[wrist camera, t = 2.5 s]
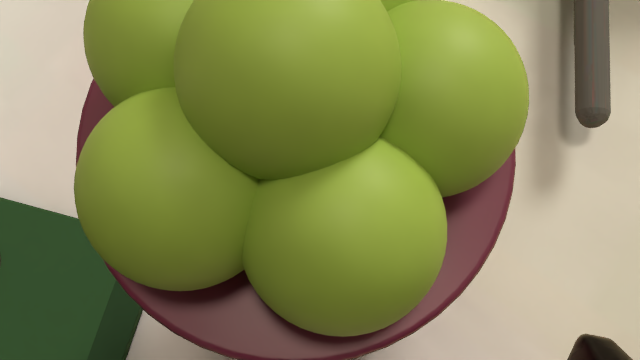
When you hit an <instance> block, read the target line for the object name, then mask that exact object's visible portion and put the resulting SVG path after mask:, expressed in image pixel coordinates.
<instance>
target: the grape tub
mask: <svg viewBox="0 0 640 360" xmlns="http://www.w3.org/2000/svg"><path fill="white" fill-rule="evenodd" d="M83 34H84V47H85V54H86V58H87V61H88V65H89V68H90V70H91V73H92V75H93V77H94V79H93V81H92V83H91V86H90V89H89V92H88V95H87V98H86V101H85V104H84V107H83V110H82V115H81V120H80V125H79V131H78V136H77V155H76V172H75V180H74V194H75V204H76V209H77V213H78V218H79V221H80V223H81V226H82V228H83V231H84V233H85V234H86V236H87V238H88V240H89V242H90V243H91V245H92V246H93V248H94V249H95V250H96V251H97V253H98V254H99V255H100V257H101V258H102V259H103V261H104V262H105V264H106V266H107V268H108V269H109V271H110V272H111V274H112V275H113V276H114V277H115V279H116V280H117V281H118V283H119V284H120V285H121V287H122V288H123V289H124V290H125V292H126V293H127V294H128V295H129V296H130V297H131V298H132V299H133V300H134V301H135V302H136V303H137V304H138V305H139V306H140V307H141V308H142V309H143V310H144V311H145V312H146V313H147V314H148V315H150V316H151V317H152V318H154V319H155V320H157V321H158V322H159V323H161V324H162V325H164V326H165V327H166V328H168V329H169V330H170V331H172V332H173V333H175V334H177V335H179V336H181V337H183V338H184V339H186V340H188V341H190V342H192V343H194V344H196V345H198V346H200V347H202V348H204V349H207V350H210V351H213V352H216V353H218V354H221V355H224V356H227V357H229V358H233V359H238V360H349V359H354V358H357V357H360V356H363V355H366V354H369V353H372V352H374V351H377V350H380V349H383V348H386V347H388V346H390V345H391V344H393V343H395V342H397V341H399V340H401V339H403V338H405V337H407V336H409V335H411V334H413V333H414V332H416V331H417V330H419V329H420V328H421V327H423V326H424V325H426V324H427V323H428V322H430V321H431V320H433V319H434V318H436V317H437V316H438V315H439V314H441V313H442V312H443V311H444V310H445V309H446V308H447V307H448V306H449V305H450V304H451V303H452V302H453V301H454V300H455V299H457V298H458V297H459V296H460V295H461V294H462V292H463V291H464V290H465V289H466V287H467V286H468V285H469V284H470V282H471V281H472V280H473V279H474V277H475V276H476V275H477V274H478V272H479V271H480V269H481V268H482V266H483V264H484V263H485V261H486V259H487V258H488V256H489V254H490V253H491V251H492V249H493V248H494V246H495V243H496V241H497V239H498V236H499V234H500V231H501V229H502V227H503V224H504V222H505V219H506V215H507V212H508V208H509V204H510V200H511V196H512V192H513V183H514V175H515V166H516V161H515V147H516V145H517V144H518V142H519V139H520V137H521V135H522V132H523V129H524V126H525V122H526V119H527V115H528V106H529V88H528V80H527V74H526V71H525V68H524V65H523V62H522V60H521V57H520V55H519V53H518V51H517V49H516V47H515V46H514V44H513V43H512V41H511V40H510V38H509V37H508V36H507V35H506V34H505V32H504V31H503V30H502V29H501V28H500V27H499V26H498V25H497V24H495V23H494V22H493V21H492V20H490V19H489V18H488V17H486V16H485V15H483V14H481V13H480V12H478V11H476V10H474V9H472V8H469V7H467V6H465V5H461V4H458V3H455V2H449V1H444V0H90V1H89V3H88V6H87V11H86V15H85V20H84V33H83Z"/></svg>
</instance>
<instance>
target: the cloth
mask: <svg viewBox="0 0 640 360" xmlns="http://www.w3.org/2000/svg"><path fill="white" fill-rule="evenodd" d="M0 254H1V267H0V360H126V357H127V354H128V351H129V348H130V345H131V342H132V339H133V336H134V334H135V331H136V328H137V325H138V322H139V319H140V316H141V313H142V310H143V309H142V308H141V307H140V306H139V305H138V304H137V303H136V302H135V301H134V300H133V299H132V298H131V297H130V296H129V295H128V294H127V293H126V292H125V290H124V289H123V288H122V287H121V285H120V284H119V283H118V281H117V280H116V279H115V277H114V276H113V275H112V274H111V272H110V271H109V269H108V268H107V266H106V264H105V262H104V261H103V259H102V258H101V257H100V255H99V254H98V253H97V251H96V250H95V249H94V248H93V246H92V245H91V243H90V242H89V240H88V238H87V236H86V234H85V233H84V231H83V228H82V226H81V223H80V221H79V219H77V218H74V217H70V216H66V215H63V214H59V213H55V212H52V211H48V210H44V209H41V208H37V207H33V206H30V205H26V204H22V203H19V202H15V201H11V200H8V199H4V198H0Z"/></svg>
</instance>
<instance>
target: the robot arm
mask: <svg viewBox="0 0 640 360" xmlns="http://www.w3.org/2000/svg"><path fill="white" fill-rule="evenodd" d="M0 267H1V254H0ZM567 360H632V359H631V358H630V357H629V356H628V355H627V354H626V353H625V352H624V351H623V350H622V349H621V348H620V347H619V346H618V345H617V344H616V343H615V342H614V341H612V340H611V339H609V338H605V337H600V336H595V335H589V334H583V335H580V336H579V337H578V339H577V340H576V342H575V344H574V346H573V349H572V351H571V353H570V355H569V357H568V359H567Z"/></svg>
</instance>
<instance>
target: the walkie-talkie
mask: <svg viewBox="0 0 640 360" xmlns="http://www.w3.org/2000/svg"><path fill="white" fill-rule="evenodd" d="M574 45H575V113H576V117H577V118H578V120H579V122H580V123H581V124H582V125H583V126H585V127H588V128H595V127H598V126H601V125H602V124H604V123H605V122H606V121H607V120H608V118H609V116H610V113H611V107H610V50H609V0H574Z"/></svg>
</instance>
